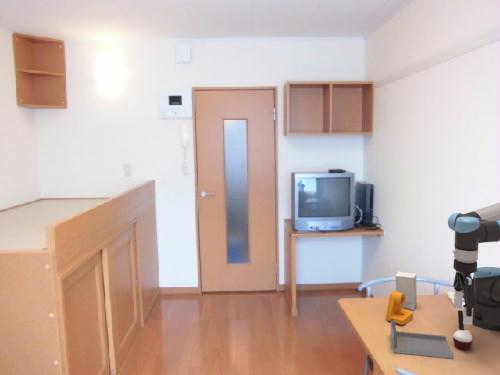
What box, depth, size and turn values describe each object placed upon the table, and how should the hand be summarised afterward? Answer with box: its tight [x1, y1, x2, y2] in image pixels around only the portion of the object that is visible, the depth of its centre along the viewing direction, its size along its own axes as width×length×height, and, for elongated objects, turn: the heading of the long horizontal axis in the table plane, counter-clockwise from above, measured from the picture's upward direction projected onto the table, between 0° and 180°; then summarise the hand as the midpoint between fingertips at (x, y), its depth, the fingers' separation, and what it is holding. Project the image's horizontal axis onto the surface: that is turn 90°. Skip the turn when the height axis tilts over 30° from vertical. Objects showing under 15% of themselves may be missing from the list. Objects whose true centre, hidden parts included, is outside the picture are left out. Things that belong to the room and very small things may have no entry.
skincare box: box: [395, 270, 418, 311], centre depth 179 cm, size 8×7×16 cm
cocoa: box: [452, 310, 473, 351], centre depth 145 cm, size 10×6×12 cm, turn 142°
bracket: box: [385, 290, 414, 326], centre depth 167 cm, size 11×7×12 cm, turn 134°
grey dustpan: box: [390, 319, 455, 360], centre depth 146 cm, size 20×13×7 cm, turn 75°
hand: (462, 315), depth 144 cm, fingers open, 13 cm apart
